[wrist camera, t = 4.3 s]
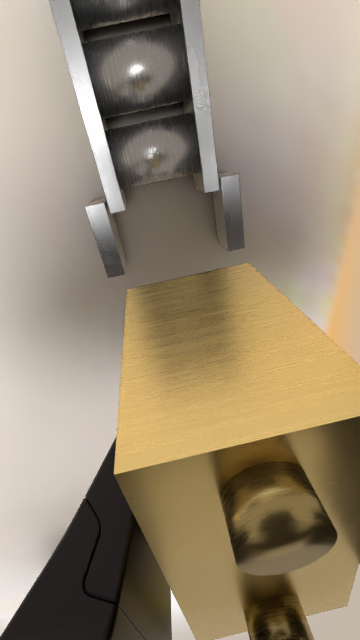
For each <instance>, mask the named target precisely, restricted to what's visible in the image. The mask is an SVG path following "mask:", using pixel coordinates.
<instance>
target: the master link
mask: <svg viewBox="0 0 360 640" xmlns="http://www.w3.org/2000/svg"><path fill="white" fill-rule="evenodd" d="M114 476H115V478H116V480H117V482H118V484H119V486H120V488H121V490H122V492H123V494H124V496H125V498H126V500H127V502H128V504H129V506H130V508H131V510H132V512H133V514H134V516H135V518H136V520H137V522H138V524H139V526H140V528H141V530H142V532H143V534H144V536H145V538H146V540H147V542H148V544H149V546H150V548H151V550H152V552H153V554H154V556H155V558H156V560H157V562H158V564H159V566H160V568H161V570H162V572H163V574H164V576H165V578H166V580H167V582H168V584H169V586H170V588H171V590H172V592H173V594H174V596H175V598H176V600H177V602H178V604H179V606H180V608H181V610H182V612H183V614H184V616H185V618H186V620H187V622H188V624H189V626H190V628H191V630H192V632H193V634H194V636H195V638H196V640H214V639H218V638H222V637H226V636H230V635H234V634H238V633H242V632H246V631H248V634H249V638H250V640H314V638H313V635H312V633H311V630H310V627H309V624H308V622H307V619H306V616H309V615H313V614H317V613H321V612H325V611H329V610H332V609H337V608H341V607H344V606H347V604H348V601H349V597H350V593H351V590H352V586H353V583H354V579H355V576H356V572H357V568H358V565H359V561H360V365H359V364H358V363H356V362H355V361H354V360H353V359H352V358H351V357H350V356H349V355H348V354H347V353H346V352H345V351H344V350H342V349H341V348H340V347H339V346H338V345H337V344H336V343H335V342H334V341H333V340H332V339H331V338H329V336H327V335H326V334H325V333H324V332H323V331H322V330H321V329H320V328H319V327H318V326H317V325H316V324H314V323H313V322H312V321H311V320H310V319H309V318H308V317H307V316H306V315H305V314H304V313H303V312H302V311H300V310H299V309H298V308H297V307H296V306H295V305H294V304H293V303H292V302H291V301H290V300H289V299H288V298H286V297H285V296H284V295H283V294H282V293H281V292H280V291H279V290H278V289H277V288H276V287H275V286H273V285H272V284H271V283H270V282H269V281H268V280H267V279H266V278H265V277H264V276H263V275H262V274H261V273H259V272H258V271H257V270H256V269H255V268H254V267H253V266H252V265H251V264H250V263H244V264H240V265H235V266H231V267H226V268H222V269H217V270H213V271H208V272H204V273H199V274H195V275H190V276H186V277H181V278H177V279H172V280H168V281H163V282H159V283H154V284H150V285H146V286H141V287H137V288H132V289H128V290H127V296H126V310H125V324H124V338H123V352H122V366H121V380H120V394H119V408H118V423H117V437H116V451H115V465H114Z"/></svg>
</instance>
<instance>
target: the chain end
mask: <svg viewBox="0 0 360 640" xmlns="http://www.w3.org/2000/svg"><path fill="white" fill-rule="evenodd" d="M49 2H50V6H51V9H52V13H53V16H54V20H55V23H56V27H57V30H58V33H59V37H60V40H61V44H62V47H63V51H64V54H65V58H66V61H67V64H68V68H69V71H70V75H71V78H72V82H73V85H74V89H75V92H76V95H77V99H78V102H79V106H80V109H81V113H82V116H83V120H84V123H85V126H86V130H87V133H88V137H89V140H90V144H91V147H92V151H93V154H94V157H95V161H96V164H97V168H98V171H99V175H100V178H101V182H102V185H103V188H104V192H105V195H106V198H103V199H98V200H93V201H91V202H90V203H89V204H88V205H87V206H86V207H85V208H86V211H87V214H88V217H89V220H90V224H91V227H92V230H93V233H94V236H95V239H96V242H97V245H98V248H99V251H100V254H101V257H102V260H103V263H104V266H105V269H106V272H107V275H108V278H110V277H114V276H119V275H123V274H125V269H126V258H125V255H124V251H123V248H122V244H121V241H120V237H119V234H118V230H117V227H116V223H115V220H114V216H113V213H116V212H120V211H125V208H126V204H127V202H126V198H125V194H124V190H123V189H126V188H131V187H136V186H140V185H145V184H150V183H154V182H159V181H163V180H168V179H173V178H177V177H182V176H187V175H191V174H193V176H194V183H195V188H197V189H199V190H200V191H202V192H204V193H208V192H212V195H213V204H214V212H215V221H216V229H217V238H218V241H219V242H220V244H221V245H222V246H223V247H224V248H225V249H226V250H227V251H231V250H236V249H240V248H244V236H243V223H242V209H241V195H240V182H239V174H237V173H231V172H223V173H218V174H217V164H216V155H215V145H214V136H213V127H212V117H211V108H210V98H209V89H208V80H207V70H206V61H205V51H204V42H203V33H202V23H201V14H200V4H199V0H49ZM167 13H170V17H171V24H172V25H170V26H165V27H160V28H155V29H150V30H145V31H140V32H136V33H131V34H126V35H121V36H116V37H111V38H106V39H101V40H96V41H91V42H87V43H85V40H84V36H83V32H82V31H83V30H88V29H93V28H98V27H103V26H108V25H113V24H118V23H123V22H128V21H133V20H137V19H142V18H147V17H152V16H157V15H162V14H167ZM180 102H183V107H184V114H181V115H177V116H172V117H167V118H163V119H158V120H153V121H148V122H144V123H139V124H134V125H129V126H125V127H120V128H115V129H110V130H108V128H107V125H106V121H105V118H109V117H113V116H118V115H123V114H128V113H132V112H137V111H142V110H147V109H152V108H156V107H161V106H166V105H171V104H175V103H180Z"/></svg>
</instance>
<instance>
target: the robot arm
mask: <svg viewBox="0 0 360 640" xmlns="http://www.w3.org/2000/svg"><path fill="white" fill-rule="evenodd" d="M116 437H117V436H116ZM115 451H116V438H115V440H114V442H113V444H112V446H111V448H110V450H109V452H108V453H107V455H106V457H105V459H104V461H103V463H102V465H101V467H100V469H99V471H98V473H97V475H96V476H95V478H94V480H93V482H92V484H91V486H90V488H89V490H88V492H87V494H86V498H84V499H83V501H82V503H81V505H80V507H79V509H78V511H77V513H76V514H75V516H74V518H73V520H72V522H71V523H70V525H69V527H68V529H67V531H66V533H65V534H64V536H63V538H62V539H61V541H60V543H59V544H58V546H57V548H56V549H55V551H54V553H53V554H52V556H51V558H50V559H49V561H48V562H47V564H46V566H45V567H44V569H43V570H42V572H41V574H40V575H39V577H38V578H37V580H36V581H35V583H34V585H33V586H32V588H31V589H30V591H29V592H28V594H27V596H26V597H25V599H24V600H23V602H22V603H21V605H20V607H19V608H18V610H17V611H16V613H15V614H14V616H13V618H12V619H11V621H10V622H9V624H8V626H7V627H6V629H5V630H4V632H3V633H2V635H1V636H0V640H172V632H171V593H170V586H169V584H168V582H167V580H166V578H165V576H164V574H163V572H162V570H161V568H160V566H159V564H158V562H157V560H156V558H155V556H154V554H153V552H152V550H151V548H150V546H149V544H148V542H147V540H146V538H145V536H144V534H143V532H142V530H141V528H140V526H139V524H138V522H137V520H136V518H135V516H134V514H133V512H132V510H131V508H130V506H129V504H128V502H127V500H126V498H125V496H124V494H123V492H122V490H121V488H120V486H119V484H118V482H117V480H116V478H115V476H114V465H115ZM359 563H360V561H359Z"/></svg>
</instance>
